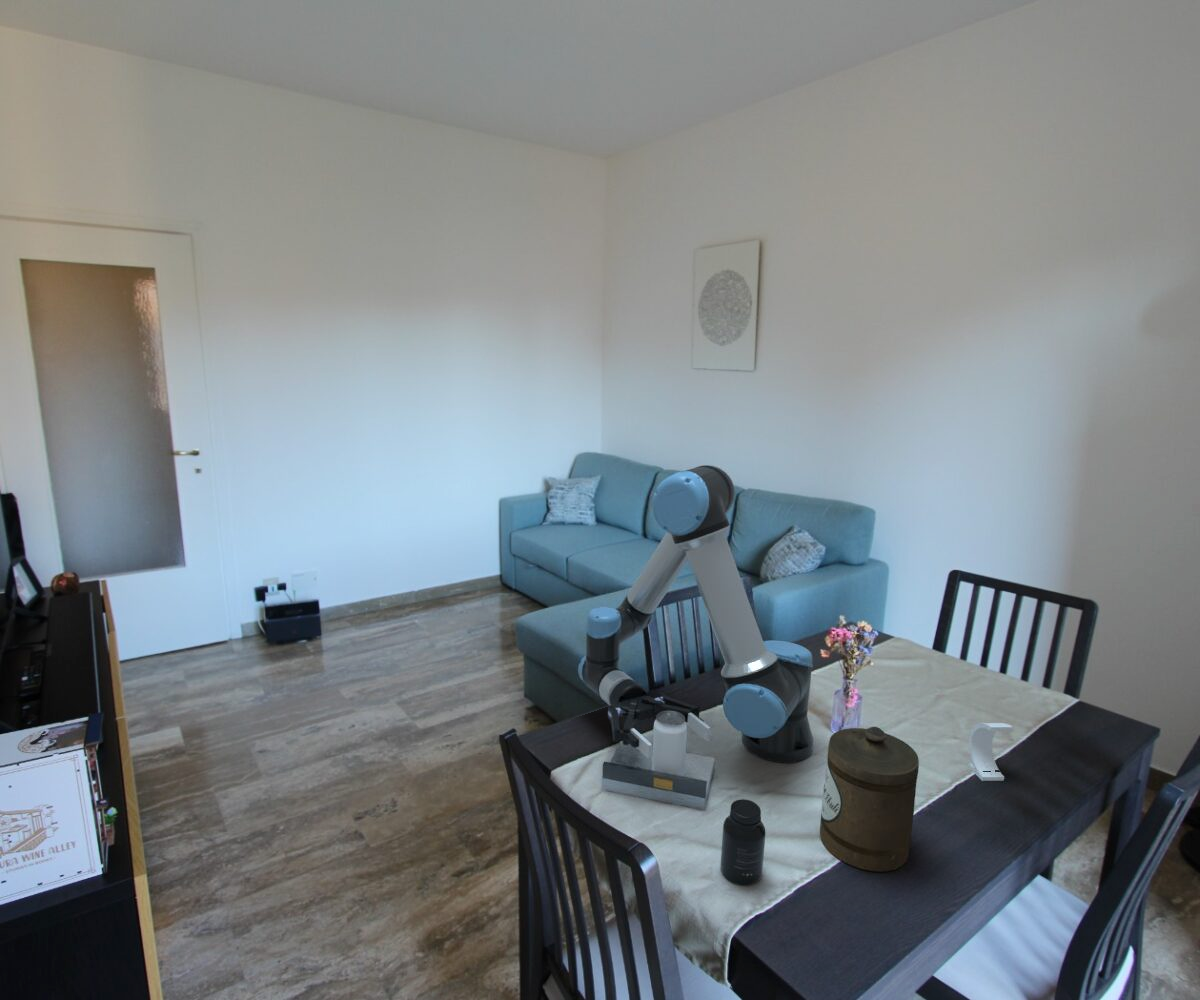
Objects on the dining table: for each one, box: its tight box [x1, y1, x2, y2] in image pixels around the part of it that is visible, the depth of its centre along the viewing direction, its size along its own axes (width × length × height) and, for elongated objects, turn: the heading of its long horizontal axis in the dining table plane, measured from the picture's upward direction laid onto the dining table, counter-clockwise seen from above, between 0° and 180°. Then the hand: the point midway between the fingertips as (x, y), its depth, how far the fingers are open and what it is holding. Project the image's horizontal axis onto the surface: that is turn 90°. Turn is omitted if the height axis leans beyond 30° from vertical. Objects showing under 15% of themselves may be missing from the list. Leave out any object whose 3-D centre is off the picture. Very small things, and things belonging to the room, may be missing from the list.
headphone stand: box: [967, 722, 1013, 782], centre depth 145 cm, size 5×6×12 cm
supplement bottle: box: [720, 798, 766, 886], centre depth 115 cm, size 7×7×12 cm
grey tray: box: [601, 740, 716, 811], centre depth 140 cm, size 20×14×6 cm
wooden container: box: [819, 726, 920, 873], centre depth 122 cm, size 15×15×22 cm
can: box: [652, 711, 688, 776], centre depth 137 cm, size 6×6×12 cm
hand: (680, 743), depth 134 cm, fingers open, 13 cm apart
